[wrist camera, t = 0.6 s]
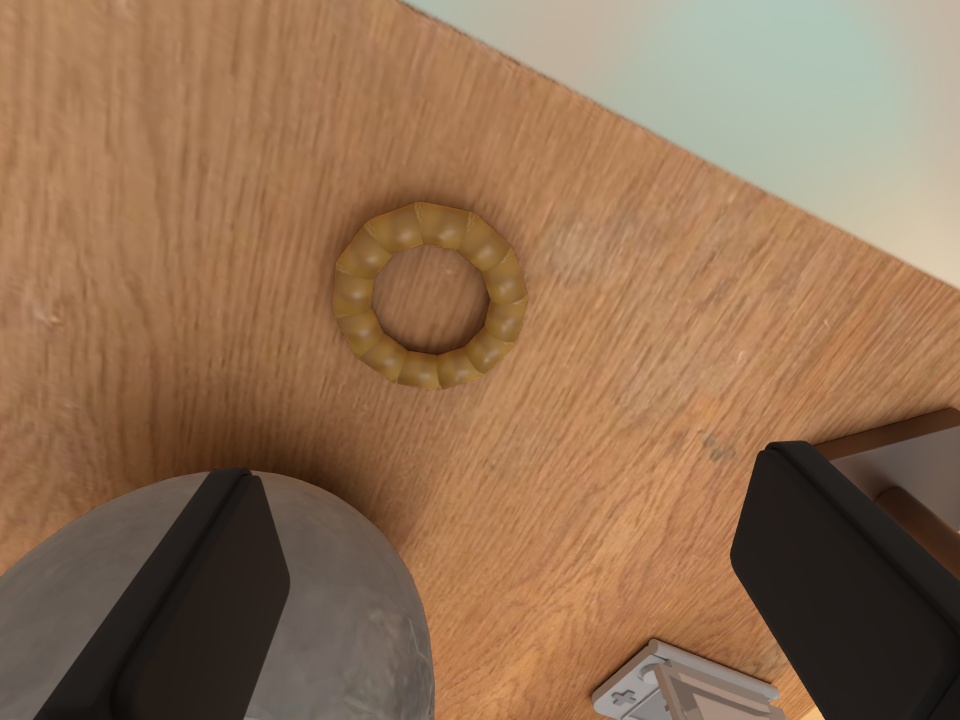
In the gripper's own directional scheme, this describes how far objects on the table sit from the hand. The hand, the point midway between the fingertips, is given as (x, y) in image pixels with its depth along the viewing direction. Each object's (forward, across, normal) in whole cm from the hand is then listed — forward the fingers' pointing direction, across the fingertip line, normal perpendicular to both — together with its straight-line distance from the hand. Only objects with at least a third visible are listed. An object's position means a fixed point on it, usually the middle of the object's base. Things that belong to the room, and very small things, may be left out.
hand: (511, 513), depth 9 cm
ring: (+15, +2, +1) cm, 16 cm away
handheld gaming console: (+16, -16, +36) cm, 43 cm away
